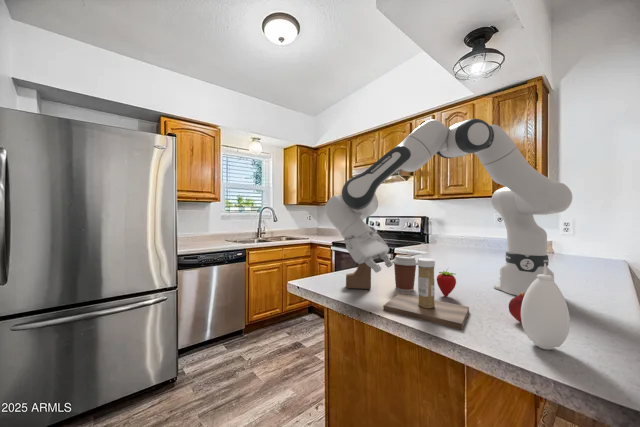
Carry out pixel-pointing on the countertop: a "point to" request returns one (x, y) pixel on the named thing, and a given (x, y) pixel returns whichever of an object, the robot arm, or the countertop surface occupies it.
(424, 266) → the sprinkles bottle
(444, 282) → the strawberry
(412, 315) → the walnut board
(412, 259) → the coffee cup
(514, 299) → the onion
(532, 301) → the sauce bottle
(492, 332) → the countertop surface
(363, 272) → the wooden block
